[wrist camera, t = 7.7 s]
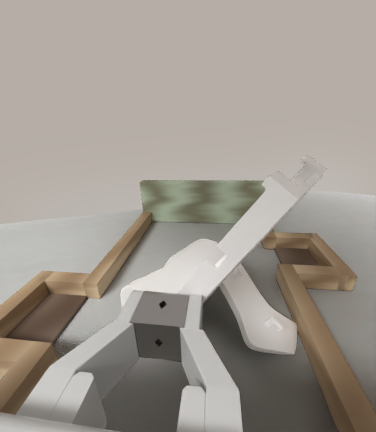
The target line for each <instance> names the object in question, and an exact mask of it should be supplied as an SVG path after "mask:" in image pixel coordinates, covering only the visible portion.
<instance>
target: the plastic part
mask: <svg viewBox="0 0 376 432" xmlns="http://www.w3.org/2000/svg"><path fill="white" fill-rule="evenodd" d="M300 163H304V164H305V165H304V166H303V167H302V169H300V171H299V172H298V173H297V174H296V175H295V176H294V177H293V179H292V180H291V181H290V180H289V179H288V178H287V177H286V176H284V175H283V174H282V173H280V172H279V171H278V172H276V173H273V174H271V175H269V176H268V177H267V178H266V180H265V181H264V182H263V184H262V186H263V187H264V188H265V192H264V193H263V194H262V195H261V196H260V197H259V199H258V200H257V201H256V202H255V203H254V204H253V205H252V206H251V208H250V209H249V210H248V211H247V212H246V213H245V214H244V215H243V216H242V218H241V219H240V220H239V221H238V222H237V223H236V224H235V225H234V227H233V228H232V229H231V230H230V231H229V232H228V233H227V234H226V235H225V237H224V238H223V239H222V240H221V241H220V242H219V243H217V242H215V241H212V240H209V239H198V240H196V241H194V242H193V243H191V244H190V245H188V246H187V247H185V248H184V249H182V250H181V251H179V252H178V253H176V254H174V255H173V256H171V257H170V258H169V260H168V261H167V263H166V264H165V266H164V268H162V269H159V270H156V271H154V272H152V273H150V274H148V275H147V276H145V277H143V278H138V279H136V280H134V281H133V282H131V283H129V284H128V285H126V286H125V287H123V288H122V290H121V293H120V299H121V305H122V308H123V307H124V305H125V303H126V301H127V299H128V297H129V295H130V293H131V292H132V291H133V290H140V291H152V292H163V293H178V294H195V295H202V304H203V303H204V302H205V301H206V300H207V299H208V298H209V297H210V296H211V295H212V293H213V292H214V291H215V290H216V289H217V288H218V287H219V288H220V289H221V291H222V293H223V294H224V296H225V298H226V299H227V301H228V303H229V305H230V307H231V309H232V311H233V313H234V315H235V317H236V319H237V322H238V325H239V328H240V331H241V334H242V337H243V340H244V342H245V344H246V345H247V346H248V347H249V348H250V349H252V350H255V351H259V352H265V353H273V354H281V355H294V354H295V351H296V347H297V325H296V323H295V322H293V321H291V320H290V319H288V318H286V317H285V316H283V315H281V314H280V313H278V312H277V311H275V310H274V309H273V308H272V307H271V306H270V305H269V304H268V303H267V302H266V301H265V299H264V298H263V297H262V295H261V294H260V292H259V291H258V289H257V288H256V286H255V285H254V283H253V282H252V280H251V278H250V277H249V275H248V274H247V272H246V271H245V269H244V268H243V266H242V265H241V263H242V261H243V260H244V259H245V258H246V257H247V256H248V255H249V254H250V253H251V252H252V251H253V250H254V249H255V248H256V246H257V245H258V244H259V243H260V242H261V241H262V240H263V239H264V238H265V237H266V236H267V235H268V234H269V233H270V231H271V230H272V229H273V228H274V227H275V226H276V225H277V224H278V223H279V222H280V221H281V220H282V219H283V218H284V217H285V216H286V215H287V214H288V212H289V211H290V210H291V209H292V208H293V207H294V206H295V205H296V204H297V203H298V202H299V200H300V199H301V198H302V197H303V196H304V195H305V194H306V193H307V192H308V191H309V190H310V189H311V188H312V187H313V186H314V185H315V184H316V183H317V181H319V179H320V178H321V177H322V176H323V172H324V171H325V170H326V169H327V168H325V167H324V166H322V165H321V164H319V163H318V162H317V161H316V160H314V159H313V158H312V157H310V156H309V155H307V156H305V157H303V158H302V159H301V160H300Z"/></svg>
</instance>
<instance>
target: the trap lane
mask: <svg viewBox="0 0 376 432" xmlns="http://www.w3.org/2000/svg"><path fill="white" fill-rule="evenodd" d="M263 182H264V181H157V180H155V181H153V180H152V181H150V180H146V181H145V180H144V181H141V182H140V187H141V195H142V204H143V213H142V214H141V215H140V217H139V218H138V219H137V220H136V221H135V222H134V224H133V225H132V226H131V227H130V228H129V230H128V231H127V232H126V233H125V234H124V235H123V237H122V238H121V239H120V240H119V241H118V242H117V244H116V245H115V246H114V247H113V248H112V249H111V251H110V252H109V253H108V254H107V255H106V256H105V258H104V259H103V260H102V261H101V262H100V263H99V265H98V266H97V267H96V268H95V269H94V270H93V272H92V273H91V274H86V273H69V272H52V271H41V272H40V273H39V274H38V275H37V276H35V277H34V278H33V279H32V280H31V281H29V282H28V283H27V284H26V285H25V286H23V287H22V288H21V289H20V290H18V291H17V292H16V293H15V294H14V295H12V296H11V297H10V298H9V299H8V300H6V301H5V302H4V303H3V304H2V305H0V376H3V377H2V378H1V379H0V412H3V413H9V414H15V415H16V413H17V412H18V410H19V409H20V407H21V406H22V405H23V403H24V402H25V400H26V399H27V398H28V396H29V395H30V393H31V392H32V390H33V389H34V388H35V386H36V385H37V383H38V382H39V381H40V379H41V378H42V376H43V375H44V373H45V372H46V371H47V369H48V368H49V366H51V365H52V364H53V363H55V362H56V361H57V360H58V357H57V355H56V352H55V350H54V347H53V345H52V344H53V343H54V342H55V340H56V339H57V338H58V336H59V335H60V334H61V332H62V331H63V330H64V328H65V327H66V326H67V324H68V323H69V322H70V320H71V319H72V318H73V316H74V315H75V314H76V313H77V311H78V310H79V309H80V307H81V306H82V305H83V303H84V302H85V301H86V299H87V298H99V299H100V298H101V296H102V295H103V293H104V292H105V291H106V289H107V288H108V286H109V285H110V283H111V282H112V280H113V279H114V277H115V276H116V274H117V273H118V271H119V270H120V268H121V267H122V265H123V264H124V262H125V261H126V259H127V258H128V256H129V255H130V253H131V252H132V251H133V249H134V248H135V246H136V245H137V243H138V242H139V240H140V239H141V237H142V236H143V234H144V233H145V231H146V230H147V228H148V227H149V225H150V224H151V222H152V221H154V222H192V223H230V224H236V223H237V222H238V221H239V220H240V219H241V218H242V216H243V215H244V214H245V213H246V212H247V211H248V210H249V209H250V208H251V206H252V205H253V204H254V203H255V202H256V201H257V200H258V199H259V197H260V196H261V195H262V194H263V193H264V192H265V188H264V187H263V186H262V184H263ZM261 242H262V245H263V247H264V249H274V250H275V252H276V254H277V256H278V258H279V260H280V262H281V264H278V267H277V273H276V279H277V282H278V284H279V287H280V289H281V292H282V294H283V297H284V299H285V302H286V304H287V307H288V309H289V311H290V314H291V316H292V319H293V321H294V322H295V323H296V325H297V331H298V334H299V336H300V339H301V341H302V344H303V346H304V349H305V351H306V353H307V356H308V358H309V361H310V363H311V366H312V368H313V371H314V373H315V376H316V378H317V381H318V383H319V386H320V388H321V391H322V393H323V396H324V398H325V400H326V403H327V405H328V408H329V410H330V413H331V415H332V418H333V420H334V423H335V425H336V428H337V430H338V432H376V412H375V411H374V409H373V407H372V405H371V403H370V402H369V400H368V398H367V396H366V395H365V393H364V391H363V389H362V388H361V386H360V384H359V382H358V380H357V379H356V377H355V375H354V373H353V372H352V370H351V368H350V366H349V364H348V363H347V361H346V359H345V357H344V356H343V354H342V352H341V350H340V348H339V347H338V345H337V343H336V341H335V340H334V338H333V336H332V334H331V332H330V331H329V329H328V327H327V325H326V324H325V322H324V320H323V318H322V316H321V315H320V313H319V311H318V309H317V308H316V306H315V304H314V302H313V301H312V299H311V297H310V295H309V293H308V292H307V290H306V288H312V289H329V290H345V291H352V290H353V287H354V285H355V282H356V279H357V275H356V274H355V273H354V272H353V271H352V270H351V269H350V268H349V267H348V266H347V265H346V264H345V263H344V262H343V261H342V260H341V259H340V258H339V257H338V256H337V255H336V253H335V252H334V251H333V250H332V249H331V248H330V247H329V246H328V245H327V244H326V243H325V242H324V241H323V240H322V239H321V238H320V237H319V236H318V235H317V234H311V233H278V232H274V231H273V230H271V231H270V233H269V234H268V235H267V236H266V237H265V238H264V239H263V240H262V241H261Z"/></svg>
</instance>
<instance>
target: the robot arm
mask: <svg viewBox="0 0 376 432" xmlns="http://www.w3.org/2000/svg"><path fill="white" fill-rule="evenodd" d="M139 357H142V358H154V359H164V360H171V361H178V362H182V365H183V368H184V371H185V373H186V376H187V379H188V382H189V384H190V386H188V385H187V386H186V387H185V388H184V389H183V390H182V397H181V404H180V411H179V418H178V425H177V432H243V429H242V417H241V406H240V394H239V390H238V388H237V386H236V385H235V383H234V381H233V379H232V378H231V376H230V374H229V373H228V371H227V369H226V368H225V366H224V364H223V362H222V361H221V359H220V357H219V356H218V354H217V352H216V351H215V349H214V347H213V345H212V344H211V342H210V340H209V339H208V337H207V335H206V334H205V332H204V330H202V295H195V294H178V293H163V292H152V291H140V290H133V291H132V292H131V293H130V295H129V297H128V299H127V301H126V303H125V305H124V307H123V308H122V310H121V312H120V314H119V316H118V318H117V320H116V321H112V322H110V323H109V324H108V325H106V326H105V327H103V328H102V329H101V330H99V331H98V332H96V333H95V334H94V335H92V336H91V337H89V338H88V339H87V340H85V341H84V342H83V343H81V344H80V345H78V346H77V347H76V348H74V349H73V350H71V351H70V352H69V353H67V354H66V355H64V356H63V357H62V358H60V359H59V360H57V361H56V362H55V363H53V364H52V365H51V366H49V368H48V369H47V371H46V372H45V373H44V375H43V376H42V378H41V379H40V381H39V382H38V383H37V385H36V386H35V388H34V389H33V390H32V392H31V393H30V395H29V396H28V398H27V399H26V400H25V402H24V403H23V405H22V406H21V407H20V409H19V410H18V412H17V413H16V415H15V414H9V413H3V412H0V432H120V431H114V430H107V429H105V428H106V425H107V418H106V415H105V412H104V408H103V405H102V402H101V401H102V400H103V399H104V398H105V397H106V396H107V395H108V394H109V392H110V391H111V390H112V389H113V388H114V387H115V386H116V384H117V383H118V382H119V381H120V380H121V379H122V378H123V377H124V375H125V374H126V373H127V372H128V371H129V370H130V369H131V367H132V366H133V365H134V364H135V363H136V362H137V361H138V360H139Z"/></svg>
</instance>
